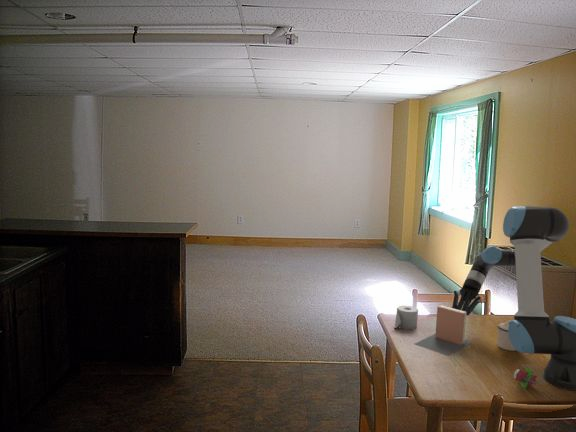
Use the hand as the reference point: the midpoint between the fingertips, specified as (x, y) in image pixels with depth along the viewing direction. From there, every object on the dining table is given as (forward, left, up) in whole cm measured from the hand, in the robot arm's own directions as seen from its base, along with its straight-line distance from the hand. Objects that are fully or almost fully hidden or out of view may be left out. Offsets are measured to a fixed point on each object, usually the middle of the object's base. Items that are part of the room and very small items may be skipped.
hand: (453, 325), depth 220 cm
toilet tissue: (+17, +16, -6) cm, 24 cm away
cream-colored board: (-2, +3, -6) cm, 6 cm away
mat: (-5, +7, -6) cm, 10 cm away
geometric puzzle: (-45, -4, -6) cm, 45 cm away
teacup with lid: (-10, -20, -6) cm, 23 cm away
